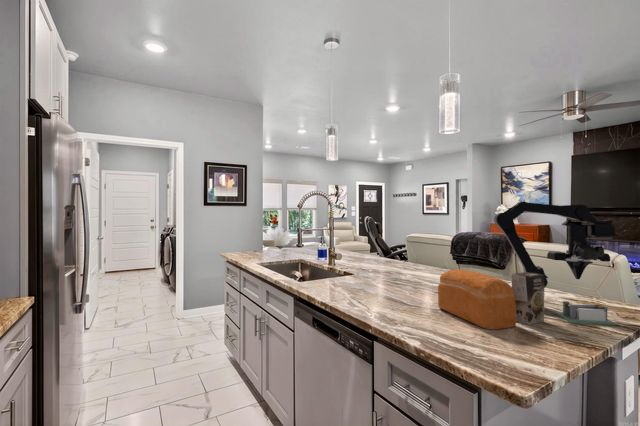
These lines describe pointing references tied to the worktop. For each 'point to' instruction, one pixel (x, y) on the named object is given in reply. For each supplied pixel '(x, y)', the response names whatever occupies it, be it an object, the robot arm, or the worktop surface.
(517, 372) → the worktop surface
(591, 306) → the grey and brown bar
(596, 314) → the heatsink board
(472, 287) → the bread
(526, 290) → the coffee box
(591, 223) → the robot arm
